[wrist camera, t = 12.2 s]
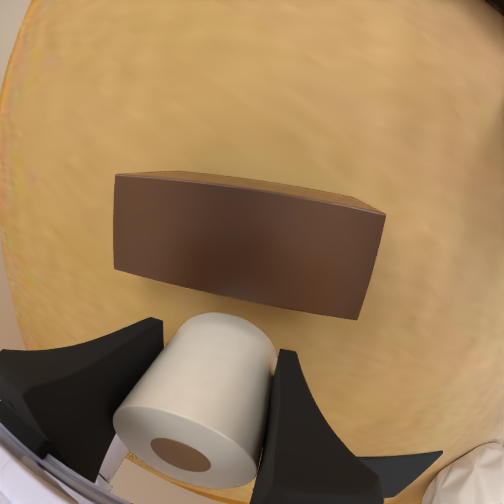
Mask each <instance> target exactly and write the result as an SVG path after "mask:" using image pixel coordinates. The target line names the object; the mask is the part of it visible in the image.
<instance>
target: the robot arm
mask: <svg viewBox="0 0 504 504" xmlns="http://www.w3.org/2000/svg"><path fill="white" fill-rule="evenodd" d="M163 349H164V341H163V321H162V320H159V319H155V318H152V317H149V318H147V319H144V320H142V321H139V322H137V323H135V324H132V325H130V326H128V327H125V328H123V329H121V330H118V331H116V332H113V333H111V334H108V335H105V336H103V337H100V338H97V339H94V340H91V341H88V342H85V343H81V344H77V345H73V346H68V347H62V348H56V349H49V350H34V351H22V350H7V349H3V350H1V351H0V400H1V401H0V504H132V503H130V502H128V501H126V500H124V499H122V498H120V497H118V496H116V495H114V494H112V493H110V491H111V489H112V488H113V486H112V485H110V484H109V483H110V481H111V479H112V478H113V476H114V474H115V473H116V471H117V470H118V468H119V467H120V465H121V463H122V462H123V460H124V458H125V457H126V455H127V454H128V452H129V451H130V450H129V449H128V448H127V447H126V446H125V445H124V444H123V442H122V441H121V440H120V438H119V437H118V435H117V433H116V431H115V429H114V426H113V416H114V413H115V411H116V410H117V409H118V407H119V406H120V405H121V404H122V402H123V401H124V400H125V398H126V397H127V396H128V394H129V393H130V392H131V390H132V389H133V388H134V386H135V385H136V384H137V383H138V381H139V380H140V379H141V377H142V376H143V375H144V373H145V372H146V371H147V369H148V368H149V367H150V366H151V364H152V363H153V362H154V360H155V359H156V358H157V356H158V355H159V354H160V353H161V351H162V350H163ZM383 503H384V498H383V490H382V486H381V482H380V479H379V476H378V475H377V474H376V473H375V472H373V471H372V470H371V469H370V468H368V467H367V466H366V465H365V464H363V463H362V462H361V461H360V460H359V459H358V458H357V457H356V456H355V455H354V454H353V453H352V452H351V451H350V450H349V449H348V448H347V447H346V446H345V445H344V443H343V442H342V441H341V440H340V439H339V437H338V436H337V435H336V434H335V433H334V431H333V430H332V428H331V427H330V426H329V424H328V423H327V421H326V420H325V418H324V417H323V415H322V413H321V412H320V410H319V408H318V406H317V404H316V402H315V400H314V399H313V397H312V394H311V392H310V390H309V388H308V385H307V383H306V381H305V378H304V375H303V373H302V370H301V367H300V363H299V359H298V355H297V353H296V352H295V351H291V350H285V349H280V352H279V356H278V360H277V364H276V368H275V372H274V376H273V381H272V386H271V391H270V399H269V409H268V418H267V425H266V433H265V438H264V443H263V449H262V455H261V460H260V464H259V469H258V473H257V477H256V481H255V485H254V489H253V493H252V497H251V501H250V504H383Z"/></svg>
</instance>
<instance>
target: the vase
mask: <svg viewBox="0 0 504 504" xmlns="http://www.w3.org/2000/svg"><path fill="white" fill-rule="evenodd" d="M422 504H504V446H503V445H500V444H498V443H495V442H493V443H487V444H483V445H481V446H479V447H477V448H475V449H473V450H472V451H470V452H469V453H467V454H465V455H464V456H462V457H460V458H459V459H457V460H456V461H454V462H453V463H451V464H450V465H448V466H446V467H445V468H443V469H442V470H441V471H440V472H439V473H438V474H437V475H436V477H435V478H434V479H433V480H432V482H431V483H430V484H429V486H428V487H427V489H426V492H425V494H424V497H423V500H422Z"/></svg>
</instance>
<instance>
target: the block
mask: <svg viewBox="0 0 504 504" xmlns="http://www.w3.org/2000/svg"><path fill="white" fill-rule="evenodd" d="M385 218H386V214H385V213H383V212H381V211H379V210H377V209H375V208H373V207H371V206H369V205H368V204H366V203H364V202H362V201H360V200H358V199H356V198H354V197H349V196H344V195H339V194H334V193H329V192H324V191H319V190H314V189H308V188H303V187H297V186H291V185H285V184H279V183H273V182H266V181H260V180H253V179H246V178H238V177H230V176H222V175H214V174H205V173H195V172H185V171H160V172H140V173H124V174H116V175H115V187H114V211H113V251H114V269H116V270H120V271H123V272H127V273H131V274H135V275H138V276H142V277H146V278H150V279H154V280H158V281H162V282H166V283H170V284H174V285H178V286H182V287H187V288H191V289H195V290H199V291H204V292H208V293H213V294H217V295H222V296H226V297H231V298H236V299H240V300H245V301H250V302H255V303H260V304H265V305H270V306H275V307H281V308H286V309H291V310H297V311H302V312H308V313H314V314H320V315H326V316H332V317H338V318H344V319H350V320H357V319H358V317H359V314H360V311H361V308H362V305H363V301H364V298H365V295H366V292H367V288H368V285H369V282H370V278H371V275H372V271H373V267H374V264H375V260H376V256H377V252H378V248H379V244H380V240H381V236H382V232H383V227H384V223H385Z"/></svg>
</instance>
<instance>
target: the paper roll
mask: <svg viewBox="0 0 504 504" xmlns="http://www.w3.org/2000/svg"><path fill="white" fill-rule="evenodd" d="M277 360H278V359H277V354H276V351H275V348H274V346H273V344H272V343H271V341H270V340H269V338H268V337H267V336H266V335H265V334H264V333H263V332H262V331H261V330H260V329H259V328H258V327H256V326H255V325H253V324H252V323H250V322H248V321H246V320H245V319H242V318H240V317H237V316H234V315H230V314H225V313H215V312H214V313H204V314H200V315H197V316H194V317H192V318H190V319H189V320H187V321H186V322H184V324H183V325H182V326H181V327H180V328H179V329H178V331H177V332H176V333H175V334H174V336H173V337H172V338H171V340H170V341H169V342H168V344H167V345H166V346H165V347H164V349H163V350H162V351H161V353H160V354H159V355H158V356H157V358H156V359H155V360H154V362H153V363H152V364H151V366H150V367H149V368H148V369H147V371H146V372H145V373H144V375H143V376H142V377H141V379H140V380H139V381H138V383H137V384H136V385H135V386H134V388H133V389H132V390H131V392H130V393H129V394H128V396H127V397H126V398H125V400H124V401H123V402H122V404H121V405H120V406H119V407H118V409H117V410H116V411H115V413H114V416H113V426H114V429H115V431H116V433H117V435H118V437H119V438H120V440H121V441H122V442H123V444H124V445H125V446H126V447H127V448H128V449H129V450H130V451H131V452H132V453H133V454H134V455H135V456H136V457H138V458H139V459H140V460H141V461H143V462H144V463H146V464H147V465H149V466H150V467H152V468H153V469H155V470H157V471H159V472H161V473H163V474H165V475H167V476H169V477H171V478H174V479H176V480H179V481H182V482H185V483H188V484H191V485H196V486H200V487H206V488H214V489H229V488H236V487H241V486H244V485H246V484H248V483H250V482H251V481H252V480H253V479H254V478H255V477H256V475H257V471H258V467H259V462H260V457H261V453H262V448H263V443H264V438H265V433H266V425H267V418H268V409H269V399H270V391H271V386H272V381H273V376H274V372H275V368H276V364H277Z"/></svg>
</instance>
